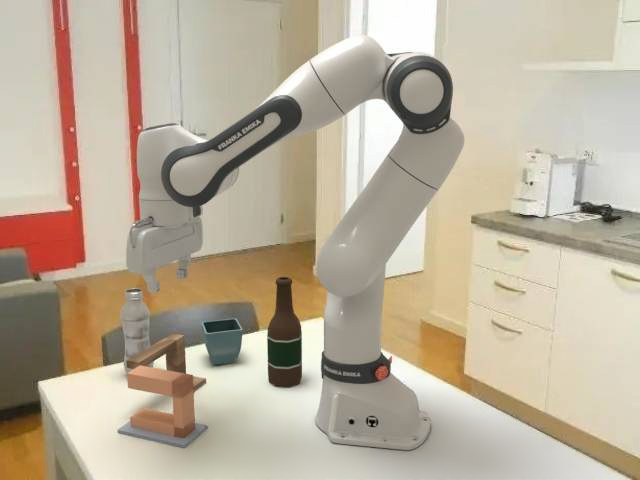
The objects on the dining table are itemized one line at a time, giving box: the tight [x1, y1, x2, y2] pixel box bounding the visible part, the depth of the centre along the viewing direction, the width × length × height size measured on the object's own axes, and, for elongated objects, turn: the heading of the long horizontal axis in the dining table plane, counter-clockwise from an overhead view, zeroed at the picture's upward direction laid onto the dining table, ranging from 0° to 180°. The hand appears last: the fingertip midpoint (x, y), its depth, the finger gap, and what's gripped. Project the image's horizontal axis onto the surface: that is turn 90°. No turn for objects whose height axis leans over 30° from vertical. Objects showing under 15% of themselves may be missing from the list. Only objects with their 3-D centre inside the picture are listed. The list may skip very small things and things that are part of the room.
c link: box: [126, 365, 196, 438], centre depth 124 cm, size 12×4×11 cm, turn 68°
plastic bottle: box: [119, 287, 155, 374], centre depth 149 cm, size 6×7×20 cm
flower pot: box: [201, 318, 244, 365], centre depth 158 cm, size 9×9×9 cm
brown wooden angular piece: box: [126, 333, 207, 393], centre depth 138 cm, size 10×18×12 cm, turn 158°
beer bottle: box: [266, 276, 303, 388], centre depth 144 cm, size 8×8×24 cm
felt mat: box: [117, 420, 209, 449], centre depth 125 cm, size 15×8×1 cm, turn 68°
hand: (168, 284), depth 124 cm, fingers open, 8 cm apart
